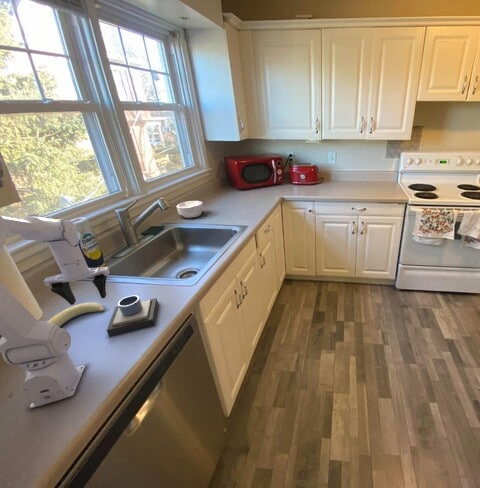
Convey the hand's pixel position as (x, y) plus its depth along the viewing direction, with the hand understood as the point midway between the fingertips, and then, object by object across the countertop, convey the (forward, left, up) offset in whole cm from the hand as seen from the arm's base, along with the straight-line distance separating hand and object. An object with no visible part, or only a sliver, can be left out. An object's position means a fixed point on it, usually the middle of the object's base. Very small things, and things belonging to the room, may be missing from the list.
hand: (89, 299), depth 84 cm
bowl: (-2, -10, -6) cm, 12 cm away
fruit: (+5, +8, -10) cm, 13 cm away
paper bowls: (+97, -27, -10) cm, 101 cm away
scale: (-2, -10, -9) cm, 14 cm away
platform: (-2, -10, -8) cm, 13 cm away
